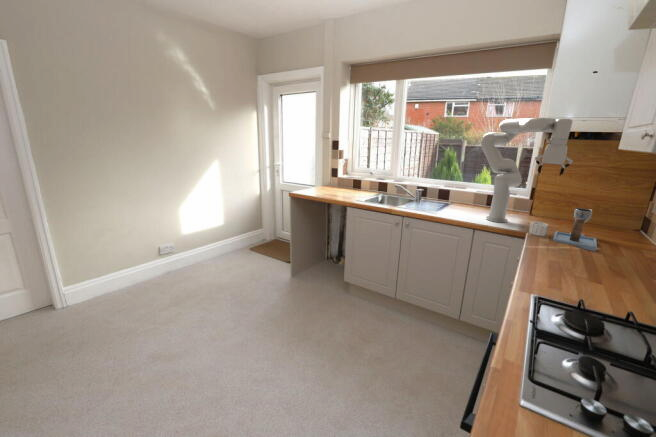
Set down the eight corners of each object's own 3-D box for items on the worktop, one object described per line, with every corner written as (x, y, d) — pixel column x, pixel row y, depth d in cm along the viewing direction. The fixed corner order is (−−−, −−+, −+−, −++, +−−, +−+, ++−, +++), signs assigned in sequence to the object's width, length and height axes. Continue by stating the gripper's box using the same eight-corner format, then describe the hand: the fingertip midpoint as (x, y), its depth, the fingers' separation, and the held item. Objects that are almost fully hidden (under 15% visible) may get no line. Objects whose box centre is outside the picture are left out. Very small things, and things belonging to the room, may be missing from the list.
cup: (525, 232, 179) (528, 221, 177) (538, 233, 179) (541, 221, 177) (534, 237, 171) (537, 225, 169) (548, 237, 171) (551, 225, 169)
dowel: (567, 238, 166) (573, 217, 163) (574, 239, 166) (580, 218, 163) (573, 241, 162) (579, 220, 159) (580, 241, 162) (586, 220, 159)
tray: (552, 242, 163) (553, 238, 163) (554, 234, 177) (555, 231, 176) (595, 251, 152) (597, 247, 152) (595, 242, 166) (596, 238, 165)
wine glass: (570, 234, 178) (576, 210, 173) (567, 231, 184) (573, 207, 180) (587, 237, 174) (594, 212, 170) (583, 233, 181) (590, 209, 177)
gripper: (538, 141, 166) (530, 172, 172) (578, 144, 156) (568, 177, 162) (539, 141, 172) (532, 171, 177) (578, 143, 162) (569, 175, 167)
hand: (549, 174), depth 169 cm, fingers open, 9 cm apart
